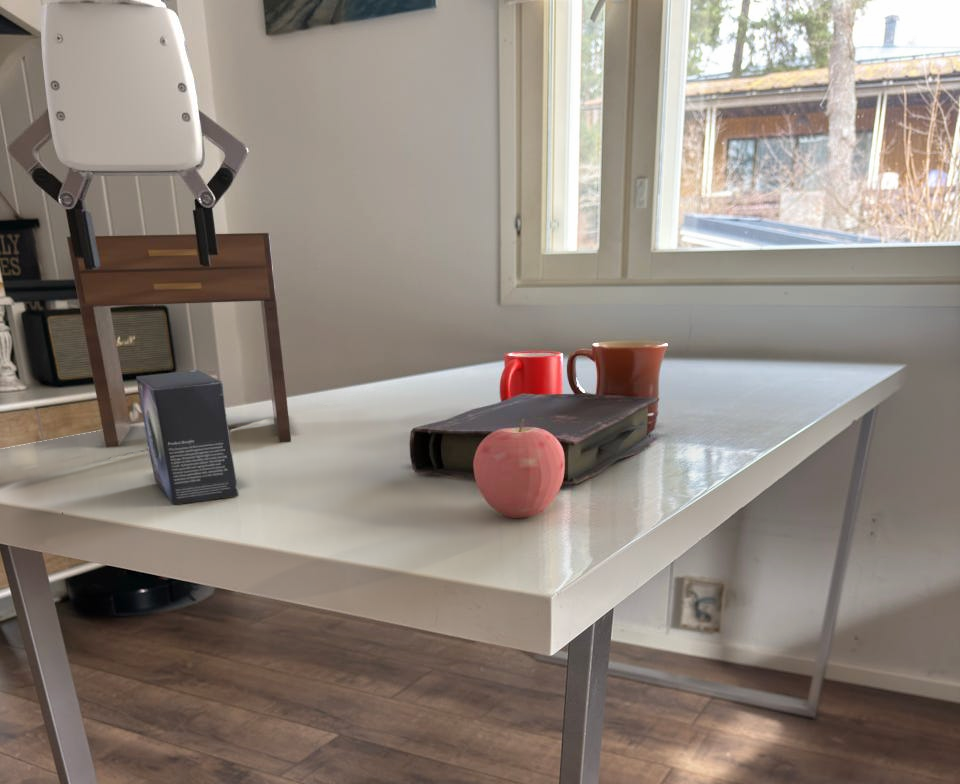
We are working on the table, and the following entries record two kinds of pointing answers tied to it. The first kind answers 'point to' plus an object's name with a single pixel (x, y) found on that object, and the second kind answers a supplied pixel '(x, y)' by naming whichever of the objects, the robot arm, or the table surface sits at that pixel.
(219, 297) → the brown wooden stand
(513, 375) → the mug
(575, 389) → the mug
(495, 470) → the apple
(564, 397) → the diary
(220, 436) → the small box
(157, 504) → the table surface
